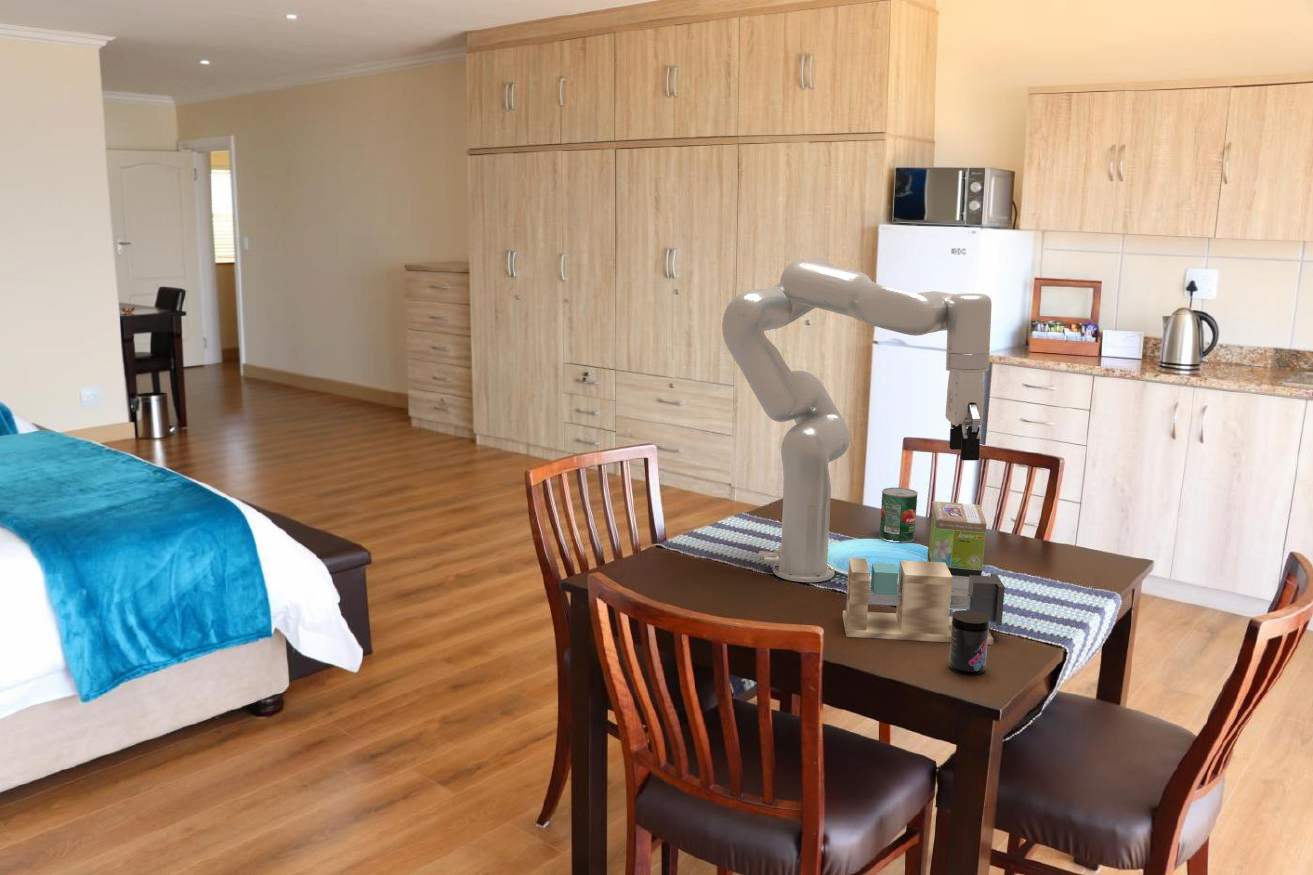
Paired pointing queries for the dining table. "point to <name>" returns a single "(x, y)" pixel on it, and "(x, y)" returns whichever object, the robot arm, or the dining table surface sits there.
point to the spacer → (884, 579)
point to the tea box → (957, 540)
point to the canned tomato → (898, 514)
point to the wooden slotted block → (903, 604)
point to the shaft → (963, 597)
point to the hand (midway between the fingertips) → (963, 454)
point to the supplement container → (969, 642)
